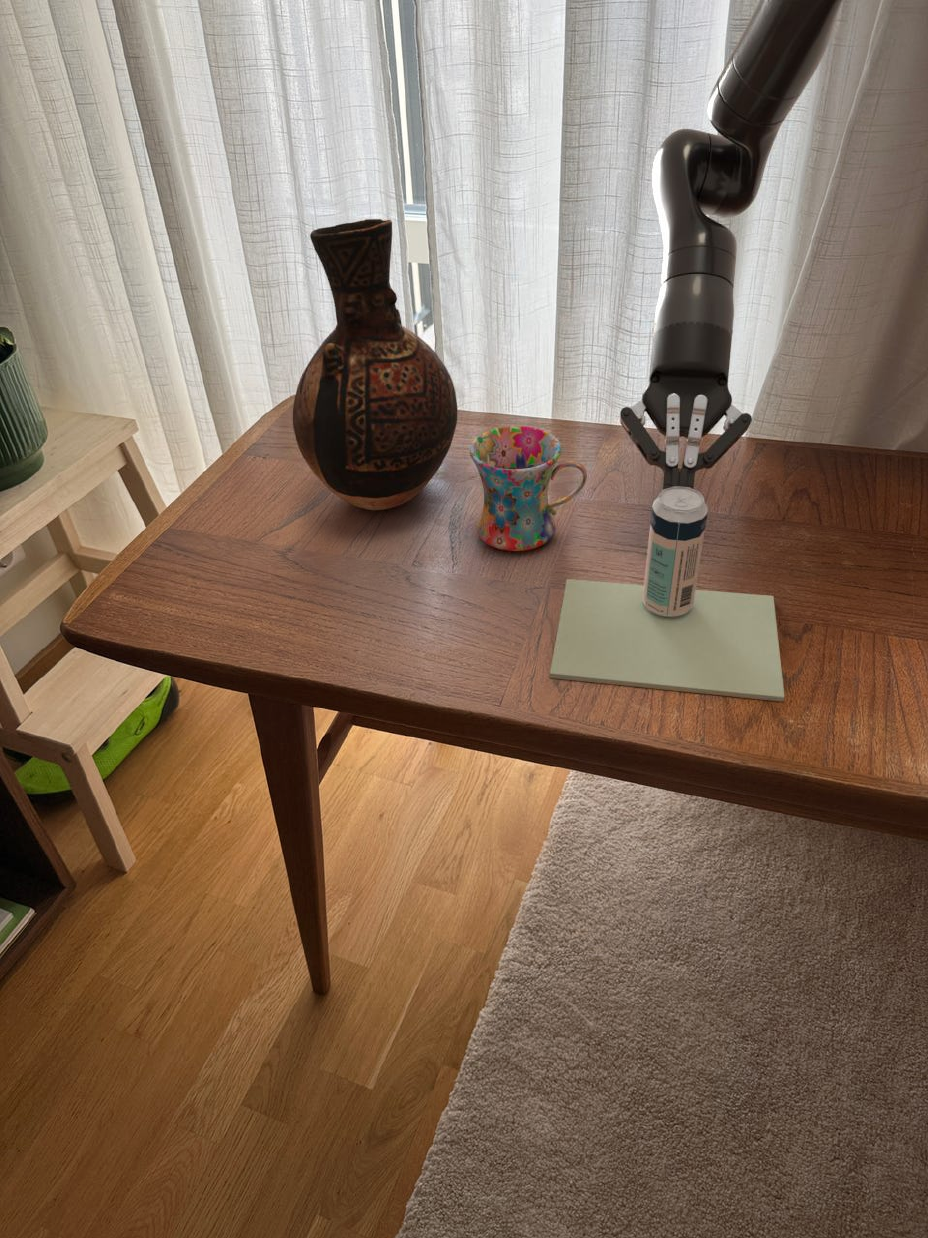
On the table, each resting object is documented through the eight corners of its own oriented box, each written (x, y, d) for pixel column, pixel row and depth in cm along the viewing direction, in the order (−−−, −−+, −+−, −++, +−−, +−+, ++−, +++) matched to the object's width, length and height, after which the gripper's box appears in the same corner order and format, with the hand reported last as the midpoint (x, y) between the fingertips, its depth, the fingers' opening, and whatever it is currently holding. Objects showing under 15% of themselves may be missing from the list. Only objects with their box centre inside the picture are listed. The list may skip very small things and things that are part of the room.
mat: (772, 600, 86) (773, 595, 85) (783, 702, 75) (784, 697, 75) (566, 583, 89) (566, 578, 89) (549, 678, 79) (549, 673, 79)
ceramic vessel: (412, 554, 94) (383, 267, 75) (274, 523, 100) (214, 249, 81) (487, 460, 109) (479, 199, 90) (363, 438, 115) (330, 189, 96)
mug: (465, 555, 94) (461, 467, 87) (482, 507, 101) (479, 423, 94) (579, 564, 92) (583, 475, 85) (587, 515, 99) (592, 429, 92)
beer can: (693, 592, 86) (710, 486, 79) (691, 623, 83) (709, 515, 75) (643, 587, 87) (655, 481, 80) (640, 617, 84) (651, 510, 76)
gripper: (623, 316, 84) (606, 495, 83) (768, 320, 82) (753, 505, 80) (623, 347, 91) (607, 512, 90) (756, 352, 89) (742, 521, 88)
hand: (676, 508), depth 85 cm, fingers closed
